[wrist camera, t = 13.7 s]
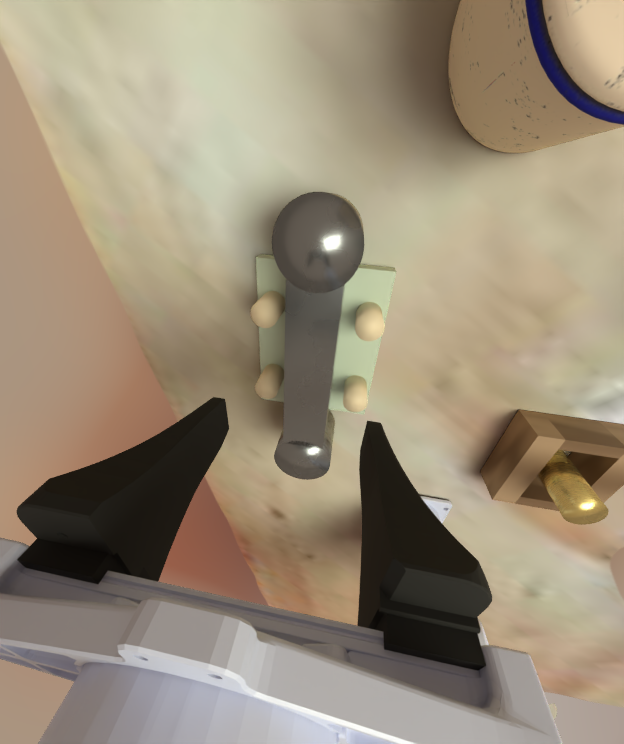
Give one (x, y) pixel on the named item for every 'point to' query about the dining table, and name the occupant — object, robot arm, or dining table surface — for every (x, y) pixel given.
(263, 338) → the rack
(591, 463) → the slot block
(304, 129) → the dining table surface
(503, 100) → the teacup with lid
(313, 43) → the dining table surface
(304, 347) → the ball-knob grey rod
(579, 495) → the pin
